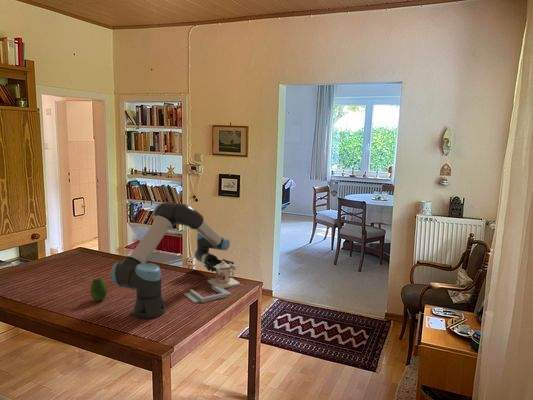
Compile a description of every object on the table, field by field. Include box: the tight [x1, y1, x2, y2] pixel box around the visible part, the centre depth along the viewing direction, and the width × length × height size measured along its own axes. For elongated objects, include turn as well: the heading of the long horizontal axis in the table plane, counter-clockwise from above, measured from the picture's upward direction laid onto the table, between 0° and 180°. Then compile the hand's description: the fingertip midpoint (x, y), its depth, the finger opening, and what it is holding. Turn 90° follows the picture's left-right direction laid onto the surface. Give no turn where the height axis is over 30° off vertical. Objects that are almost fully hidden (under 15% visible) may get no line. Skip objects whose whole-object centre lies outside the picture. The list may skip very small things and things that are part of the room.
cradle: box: [183, 284, 232, 304], centre depth 218 cm, size 22×15×2 cm
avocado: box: [90, 277, 108, 302], centre depth 208 cm, size 8×8×12 cm
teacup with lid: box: [215, 261, 235, 283], centre depth 236 cm, size 12×9×12 cm
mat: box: [207, 278, 241, 289], centre depth 237 cm, size 14×14×1 cm
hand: (227, 269), depth 232 cm, fingers open, 10 cm apart
